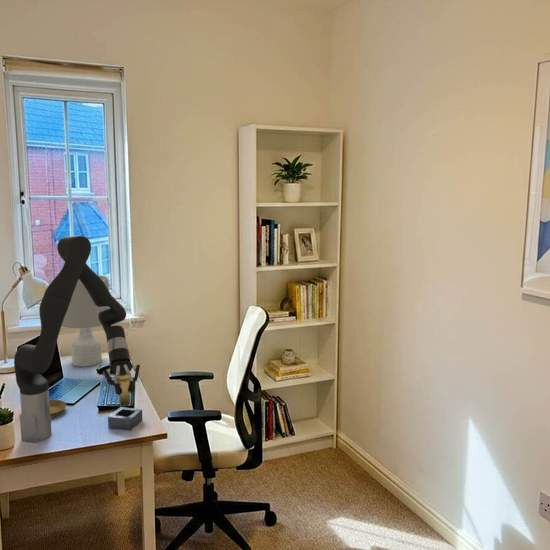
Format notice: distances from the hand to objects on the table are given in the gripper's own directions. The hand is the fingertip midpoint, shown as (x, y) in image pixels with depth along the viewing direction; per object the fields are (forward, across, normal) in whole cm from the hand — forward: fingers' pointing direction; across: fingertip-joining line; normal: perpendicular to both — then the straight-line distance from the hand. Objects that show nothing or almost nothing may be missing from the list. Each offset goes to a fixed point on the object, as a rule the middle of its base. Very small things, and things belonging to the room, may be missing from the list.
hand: (125, 392), depth 197 cm
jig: (+8, 0, +10) cm, 13 cm away
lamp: (-48, -5, +67) cm, 83 cm away
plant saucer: (-8, -26, +27) cm, 39 cm away
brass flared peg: (+2, 0, +5) cm, 5 cm away
